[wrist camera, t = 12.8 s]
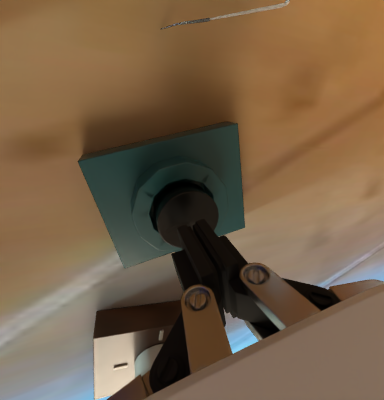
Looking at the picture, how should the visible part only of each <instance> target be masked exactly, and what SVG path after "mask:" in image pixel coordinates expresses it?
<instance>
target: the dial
mask: <svg viewBox="0 0 384 400" xmlns="http://www.w3.org/2000/svg"><path fill="white" fill-rule="evenodd" d="M162 346H163V344H158V345H155V346H152V347H150V348H148V349H146V350H145V351H143V352H142V353H141V354H140V355H139V356H138V357H137V359H136V360H135V364H134V369H135V378H136V377H137V376H138V375H140V374H141V376H143V375H144V374H145V373H147V372H148V371H149V370H150V369H151V367H152V364H153V362H154V360H155V358H156V357H157V355H158V353H159V351H160V349H161V347H162Z"/></svg>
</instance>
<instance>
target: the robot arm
mask: <svg viewBox="0 0 384 400" xmlns="http://www.w3.org/2000/svg"><path fill="white" fill-rule="evenodd" d="M177 232H178V236H179V240H180V244H181V247H182V250H181V251H178V252H175V253H172V254H171V255H172V258H173V262H174V265H175V269H176V272H177V275H178V278H179V281H180V284H181V287H182V289H183V292H184V293H183V295H182V297H181V306H182V311H181V313H180V315H179V316H178V318H177V320H176V322H175V324H174V326H173V327H172V329H171V331H170V333H169V335H168V337H167V338H166V340H165V342H164V344H163V346H162V347H161V349H160V351H159V353H158V355H157V357H156V358H155V360H154V362H153V364H152V367H151V369H150V370H149V371H148V372H147V373H145V374H144V375H143V376H141V374H140V375H138V376H137V377H136V378H135V379H133V380H132V381H131V382H129V383H128V384H127V385H125V386H124V387H123V388H121V389H120V390H119V391H117V392H116V393H115V394H113V395H112V396H111V397H109V398H108V399H107V400H384V282H383V281H379V280H364V281H358V282H353V283H347V284H342V285H336V286H331V287H329V289H328V290H327V289H325V288H322V287H318V286H314V285H310V284H305V283H301V282H297V281H292V280H288V279H284V278H281V277H279V276H278V275H277V274H276V273H275V272H273V271H272V270H271V269H270V268H268V267H267V266H265V265H264V264H261V263H249V264H248V263H247V261H246V260H245V259H244V258H243V257H242V255H241V254H240V253H239V252H238V251H237V249H236V248H235V247H234V246H233V245H232V243H231V242H230V241H229V240H228V238H227V237H226V236H224V235H223V236H220V237H218V236H217V235H216V233H215V232H214V231H213V229H212V228H211V227H210V225H209V224H208V223H207V221H206V220H205V219H201V220H198V221H195V224H194V225H193V230H192V228H191V226H188V227H187V226H186V225H183V226H180V227H177ZM223 308H224V309H225V311H226V313H229V312H230V313H231V315H232V317H233V318H235V317H238V318H239V319H242V320H244V321H245V323H246V325H247V327H248V328H249V329H250V330H251V332H252V333H253V334H254V336H255V337H256V338H257V339H258V342H256V343H254V344H252V345H250V346H248V347H246V348H244V349H242V350H240V351H238V352H236V353H234V354H232V351H231V348H230V344H229V341H228V338H227V335H226V331H225V328H224V327H225V324H226V321H225V315H224V309H223Z"/></svg>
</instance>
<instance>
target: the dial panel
mask: <svg viewBox="0 0 384 400" xmlns="http://www.w3.org/2000/svg"><path fill="white" fill-rule="evenodd" d="M181 311H182V306H181V300H180V301H173V302H165V303H157V304H149V305H142V306H134V307H126V308H118V309H111V310H103V311H97V312H96V320H95V328H94V336H93V360H94V400H95V399H99V398H103V397H107V396H111V395H113V394H115V393H116V392H117V391H119V390H120V389H121V388H123V387H124V386H125V385H127V384H128V383H129V382H131V381H132V380H133V379H135V369H134V364H135V360H136V359H137V357H138V356H139V355H140V354H141V353H142V352H143V351H145V350H146V349H148V348H150V347H152V346H155V345H158V344H164V342H165V340H166V338H167V337H168V335H169V333H170V331H171V329H172V327H173V326H174V324H175V322H176V320H177V318H178V316H179V315H180V313H181Z"/></svg>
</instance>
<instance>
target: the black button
mask: <svg viewBox="0 0 384 400" xmlns="http://www.w3.org/2000/svg"><path fill="white" fill-rule="evenodd" d="M154 218H155V221H156V225H157V228H158V232H159V234H160V236H161V238H162V239H163V240H164V241H165V242H166V243H168V244H169V245H172V246H174V247H178V248H182V247H181V244H180V240H179V236H178V232H177V227H180V226H183V225H186V226H187V227H188V226H191V228H192V230H193V225H194V224H195V221H198V220H201V219H205V220H206V221H207V223H208V224H209V225H210V227H211V228H212V229H213V231H214V230H215V228H216V226H217V223H218V219H219V211H218V207H217V205H216V203H215V201H214V200H213V199H212V198H211V197H210V196H209V195H208V194H207V193H206V192H205V191H204V190H203V189H202V188H201V187H200V186H198V185H196V184H193V183H189V182H181V183H176V184H173V185H171V186H169V187H168V188H166V189H165V190H164V191H163V192H162V193H161V194H160V195H159V196H158V198H157V200H156V202H155V205H154Z"/></svg>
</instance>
